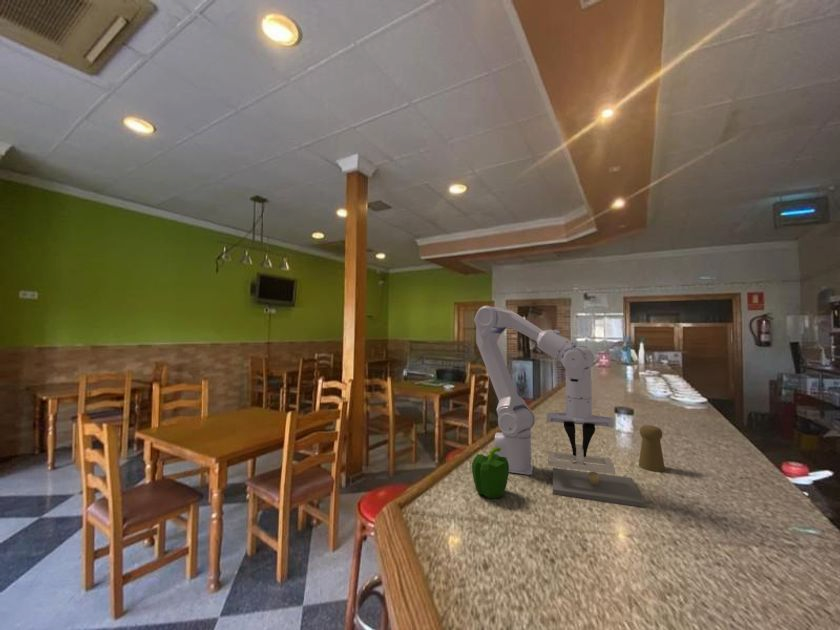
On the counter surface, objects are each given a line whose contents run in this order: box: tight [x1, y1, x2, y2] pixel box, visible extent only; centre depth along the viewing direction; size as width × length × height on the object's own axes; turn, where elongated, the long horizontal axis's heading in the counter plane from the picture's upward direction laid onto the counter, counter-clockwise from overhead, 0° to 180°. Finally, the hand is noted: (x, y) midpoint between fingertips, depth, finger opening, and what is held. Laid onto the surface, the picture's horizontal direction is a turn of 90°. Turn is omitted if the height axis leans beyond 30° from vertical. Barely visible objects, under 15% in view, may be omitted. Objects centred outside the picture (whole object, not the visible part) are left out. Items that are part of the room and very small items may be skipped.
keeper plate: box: [552, 467, 646, 509], centre depth 86 cm, size 18×14×3 cm
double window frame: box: [547, 443, 616, 475], centre depth 87 cm, size 14×8×4 cm, turn 70°
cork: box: [638, 424, 666, 473], centre depth 100 cm, size 6×6×11 cm
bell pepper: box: [471, 447, 510, 499], centre depth 82 cm, size 8×8×10 cm
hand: (579, 455), depth 87 cm, fingers closed on double window frame
